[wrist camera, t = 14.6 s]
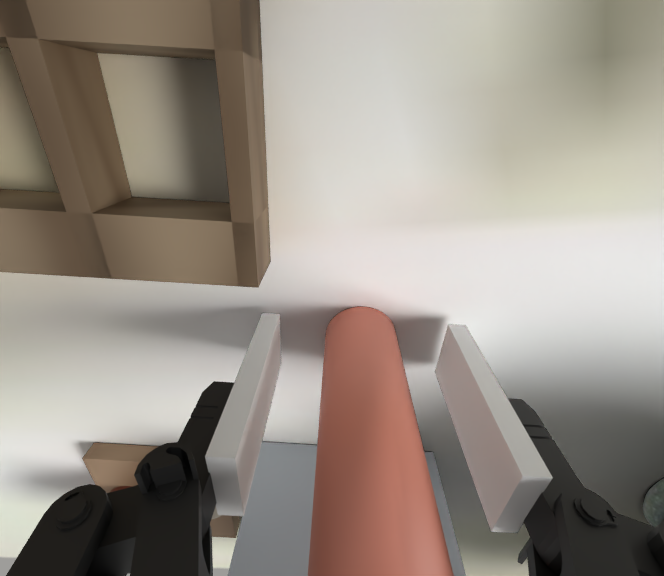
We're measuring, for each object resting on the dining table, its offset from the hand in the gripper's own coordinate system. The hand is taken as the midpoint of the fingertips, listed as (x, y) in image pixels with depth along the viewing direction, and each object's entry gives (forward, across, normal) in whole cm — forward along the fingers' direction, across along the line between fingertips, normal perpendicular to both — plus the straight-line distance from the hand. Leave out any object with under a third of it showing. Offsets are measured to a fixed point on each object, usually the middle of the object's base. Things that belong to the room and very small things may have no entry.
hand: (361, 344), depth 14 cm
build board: (+1, +10, -8) cm, 12 cm away
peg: (+1, 0, 0) cm, 1 cm away
